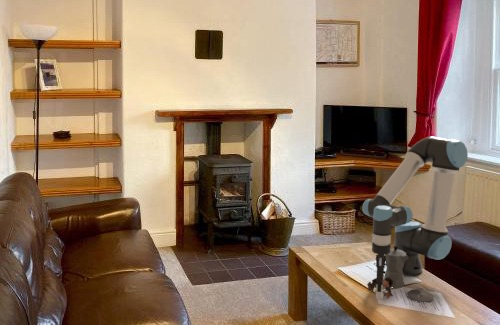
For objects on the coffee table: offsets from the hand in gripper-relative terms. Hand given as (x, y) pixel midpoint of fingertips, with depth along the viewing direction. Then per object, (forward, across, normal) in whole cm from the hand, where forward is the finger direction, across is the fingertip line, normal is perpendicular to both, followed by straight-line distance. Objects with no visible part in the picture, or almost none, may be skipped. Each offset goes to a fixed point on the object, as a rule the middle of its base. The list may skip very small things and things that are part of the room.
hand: (379, 293), depth 231 cm
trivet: (+1, -4, +17) cm, 17 cm away
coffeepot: (+2, -15, +5) cm, 16 cm away
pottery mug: (+1, 0, +1) cm, 1 cm away
